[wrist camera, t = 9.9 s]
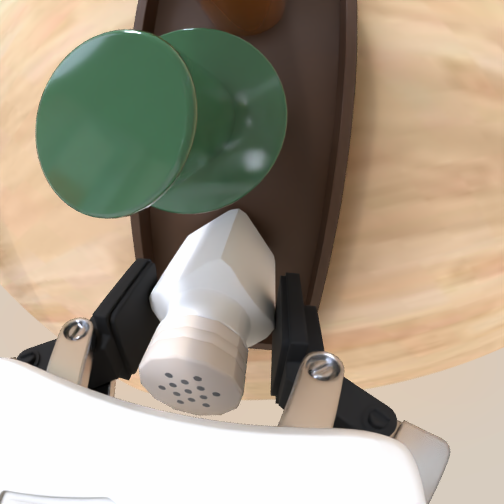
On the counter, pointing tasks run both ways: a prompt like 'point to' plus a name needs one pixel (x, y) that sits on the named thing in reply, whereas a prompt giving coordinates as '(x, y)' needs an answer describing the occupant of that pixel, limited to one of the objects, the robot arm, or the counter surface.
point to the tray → (294, 146)
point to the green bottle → (160, 122)
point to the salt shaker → (210, 316)
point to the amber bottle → (243, 15)
